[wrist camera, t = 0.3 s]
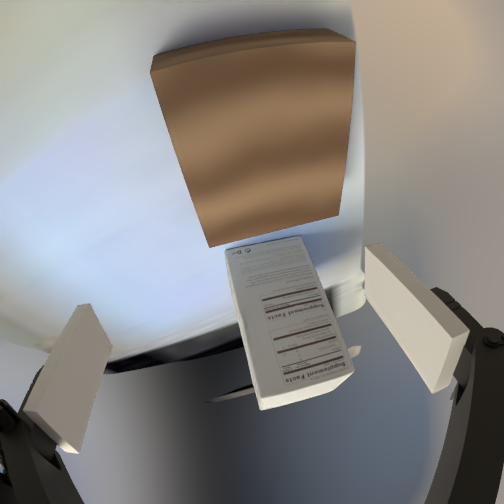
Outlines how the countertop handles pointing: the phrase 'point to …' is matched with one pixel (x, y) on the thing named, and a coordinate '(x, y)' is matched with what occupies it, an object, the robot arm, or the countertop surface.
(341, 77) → the walnut base
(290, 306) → the supplement box
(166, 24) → the countertop surface
